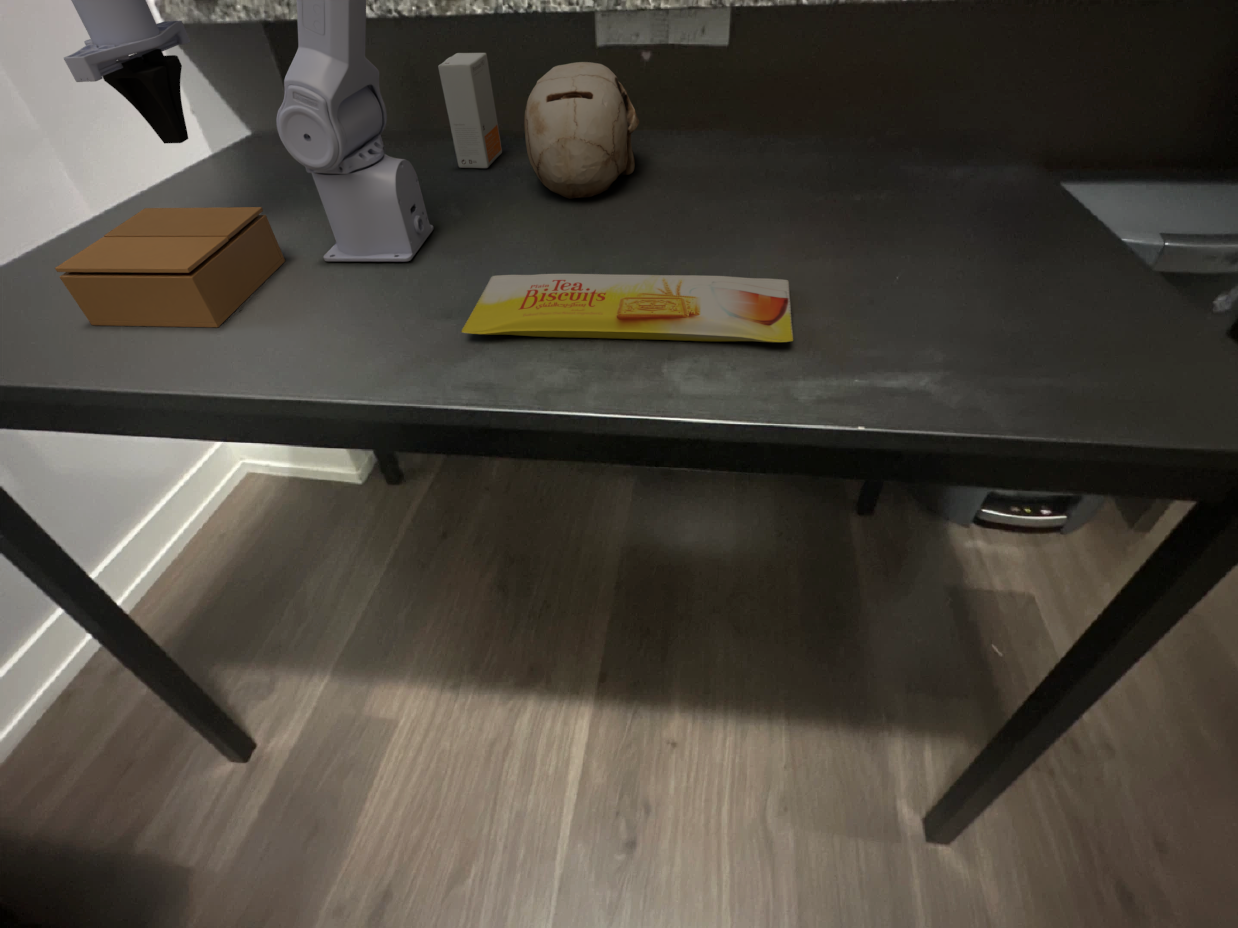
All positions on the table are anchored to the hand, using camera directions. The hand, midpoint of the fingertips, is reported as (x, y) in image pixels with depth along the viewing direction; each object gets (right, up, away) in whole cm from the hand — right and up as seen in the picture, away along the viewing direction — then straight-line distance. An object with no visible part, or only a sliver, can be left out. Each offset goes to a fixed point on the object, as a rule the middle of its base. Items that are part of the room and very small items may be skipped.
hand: (176, 141), depth 70 cm
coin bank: (+41, +2, +14) cm, 44 cm away
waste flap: (+2, -14, -8) cm, 17 cm away
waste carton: (+3, -16, -2) cm, 16 cm away
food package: (+46, -20, -10) cm, 52 cm away
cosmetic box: (+27, +7, +21) cm, 35 cm away
